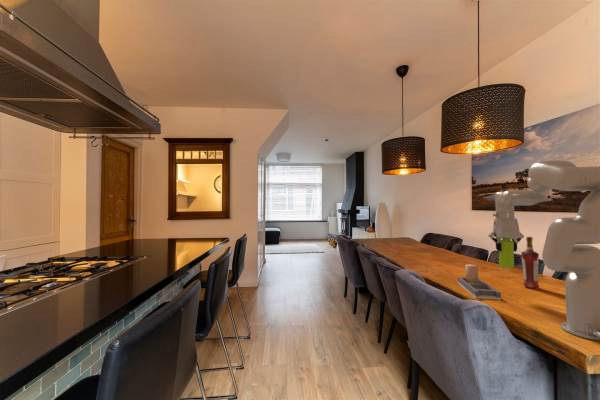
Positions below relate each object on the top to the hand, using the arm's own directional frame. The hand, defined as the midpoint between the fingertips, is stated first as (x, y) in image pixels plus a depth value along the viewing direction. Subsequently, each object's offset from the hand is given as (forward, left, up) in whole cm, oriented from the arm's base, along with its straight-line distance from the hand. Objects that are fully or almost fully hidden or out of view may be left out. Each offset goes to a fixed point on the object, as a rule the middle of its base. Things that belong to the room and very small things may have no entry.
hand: (506, 250), depth 134 cm
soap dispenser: (0, 0, -8) cm, 8 cm away
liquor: (+17, -19, -23) cm, 35 cm away
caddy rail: (+6, +12, -23) cm, 26 cm away
